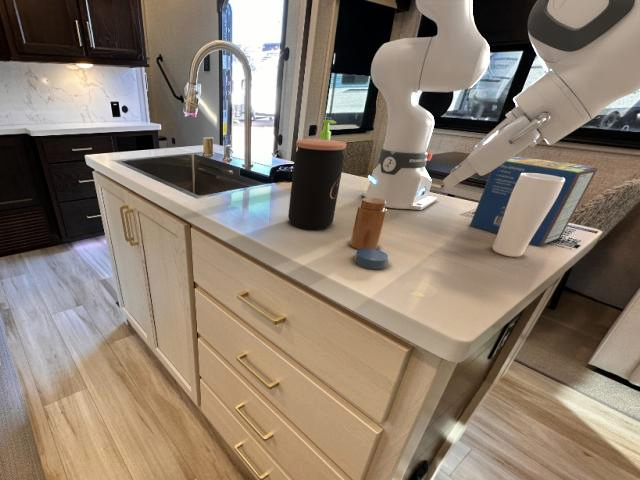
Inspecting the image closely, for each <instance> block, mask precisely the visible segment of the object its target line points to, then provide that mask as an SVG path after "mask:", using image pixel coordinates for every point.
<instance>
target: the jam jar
mask: <svg viewBox="0 0 640 480" xmlns="http://www.w3.org/2000/svg"><path fill="white" fill-rule="evenodd" d="M360 202H361V203H360V204H359V205H357V209H356V214H355V218H354V223H353V227H352V233H351V238H350V243H349V245H350V246H351V247H352V248H355V249H357V250H359V249H365V248H369V249H376V250H378V246H379V242H380V238H381V234H382V230H383V226H384V223H385V218H386V214H387V207H385V204H386V201H385V200H382V199H379V198H365V197H363V198H362V199H361V200H360Z"/></svg>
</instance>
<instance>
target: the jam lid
mask: <svg viewBox="0 0 640 480" xmlns="http://www.w3.org/2000/svg"><path fill="white" fill-rule="evenodd" d="M389 258H390V256H389V255H388V253H386V252H384V251H382V250H380V249H369V248H365V249H357V250H356V252H355V256H354V262H355V264H357V266H360V267H362V268H365V269H368V270H383V269H385V268H387V265H388V263H389Z"/></svg>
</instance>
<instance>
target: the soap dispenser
mask: <svg viewBox="0 0 640 480" xmlns="http://www.w3.org/2000/svg"><path fill="white" fill-rule="evenodd" d="M321 121H322V123H323V129H322V130H320V131H319V138H318V139H323V140H331V135H332V131H330V125H336V124H337V121H335V120H333V119H322V120H321Z"/></svg>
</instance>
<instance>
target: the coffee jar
mask: <svg viewBox="0 0 640 480" xmlns="http://www.w3.org/2000/svg"><path fill="white" fill-rule="evenodd" d="M347 144H348V143H346V142H344V141H340V140H333V139H330V140H323V139H319V138H305V139H304V138H303V139H298V140H295V146H296V147H297V149H296V151H295V152H294V158H293V167H292V175H291V176H292V178H291V185H290V186H291V187H290V196H289V206H288V216H287V217H288V221H289V223H290V224H291V225H292V226H293V227H295V228H298V229H302V230H307V231H322V230H326V229H327V228H329V227H330V226H331V225H332V223H333V222H334V218H335V213H336V208H337V207H336V206H337V201H338V196H339V190H340V184H341V178H342V172H343V167H344V162H345V154H344V150H345V149H346V148H347Z"/></svg>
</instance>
